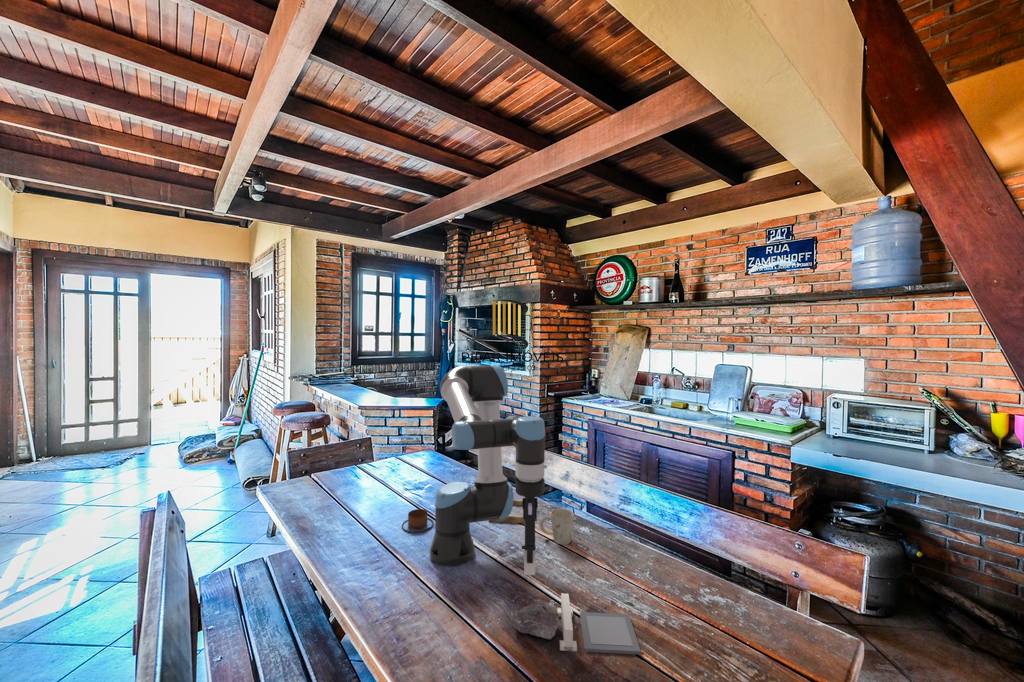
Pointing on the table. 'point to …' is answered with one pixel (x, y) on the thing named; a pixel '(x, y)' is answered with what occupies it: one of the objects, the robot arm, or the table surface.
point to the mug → (560, 525)
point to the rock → (536, 621)
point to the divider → (566, 624)
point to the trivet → (609, 633)
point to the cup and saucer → (417, 520)
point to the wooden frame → (512, 518)
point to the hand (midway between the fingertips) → (529, 559)
